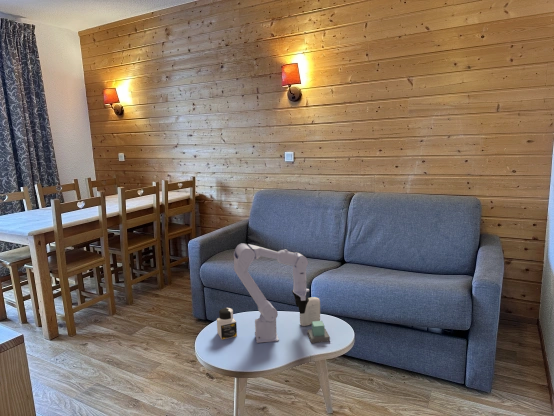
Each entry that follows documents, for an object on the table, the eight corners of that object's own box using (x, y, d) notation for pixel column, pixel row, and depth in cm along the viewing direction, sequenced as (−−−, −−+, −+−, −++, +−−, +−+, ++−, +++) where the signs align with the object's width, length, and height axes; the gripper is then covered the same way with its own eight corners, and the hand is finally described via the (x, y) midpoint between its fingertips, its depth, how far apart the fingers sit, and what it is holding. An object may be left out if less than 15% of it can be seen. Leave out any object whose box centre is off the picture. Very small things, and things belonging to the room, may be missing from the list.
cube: (314, 336, 163) (314, 326, 162) (311, 331, 167) (311, 321, 166) (324, 335, 163) (324, 325, 162) (321, 330, 168) (321, 320, 167)
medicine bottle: (221, 340, 166) (220, 314, 164) (217, 333, 172) (215, 308, 170) (237, 336, 168) (236, 311, 166) (232, 329, 175) (231, 305, 173)
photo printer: (316, 318, 183) (316, 294, 181) (321, 322, 180) (321, 297, 178) (298, 323, 179) (298, 299, 176) (303, 327, 175) (302, 302, 173)
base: (311, 343, 161) (311, 338, 161) (307, 333, 169) (307, 329, 169) (329, 341, 162) (329, 336, 162) (324, 332, 170) (324, 328, 170)
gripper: (312, 285, 161) (312, 315, 163) (305, 274, 175) (305, 302, 177) (296, 287, 160) (296, 317, 162) (290, 275, 174) (290, 303, 176)
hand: (300, 309), depth 170 cm, fingers open, 7 cm apart
